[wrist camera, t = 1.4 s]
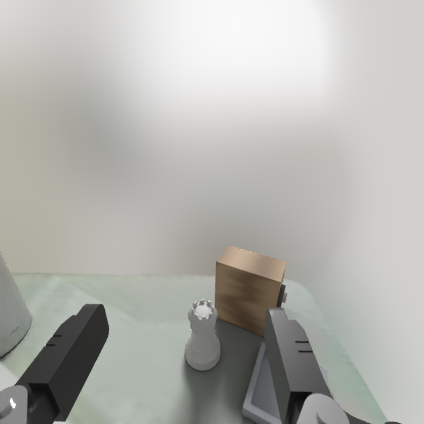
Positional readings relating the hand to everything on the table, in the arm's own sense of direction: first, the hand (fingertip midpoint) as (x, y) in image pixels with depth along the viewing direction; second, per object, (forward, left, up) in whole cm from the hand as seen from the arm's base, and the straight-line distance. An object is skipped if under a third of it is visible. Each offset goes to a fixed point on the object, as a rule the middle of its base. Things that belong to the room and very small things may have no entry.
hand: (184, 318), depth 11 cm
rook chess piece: (-4, +9, -19) cm, 21 cm away
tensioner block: (-1, +16, -19) cm, 25 cm away
